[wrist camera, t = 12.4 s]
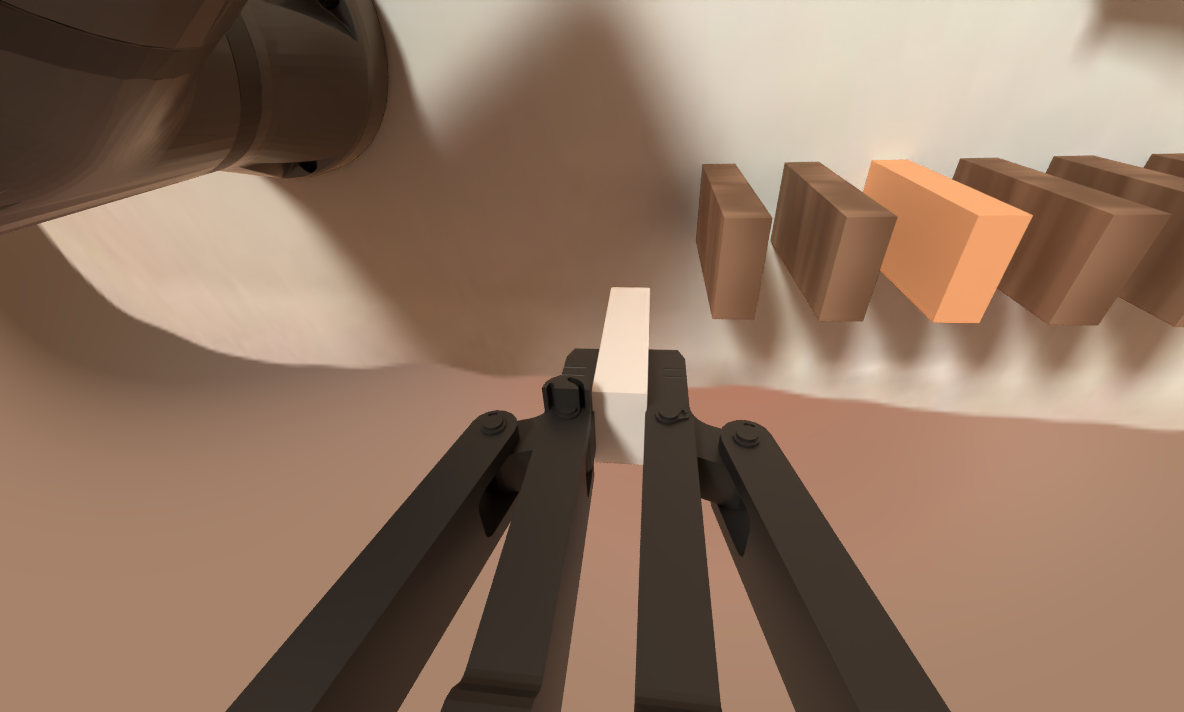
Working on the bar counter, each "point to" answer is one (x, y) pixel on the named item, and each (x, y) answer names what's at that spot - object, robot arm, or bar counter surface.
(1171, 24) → the bar counter surface
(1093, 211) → the domino
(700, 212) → the domino
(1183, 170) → the domino
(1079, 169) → the domino
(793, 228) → the domino
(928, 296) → the domino
